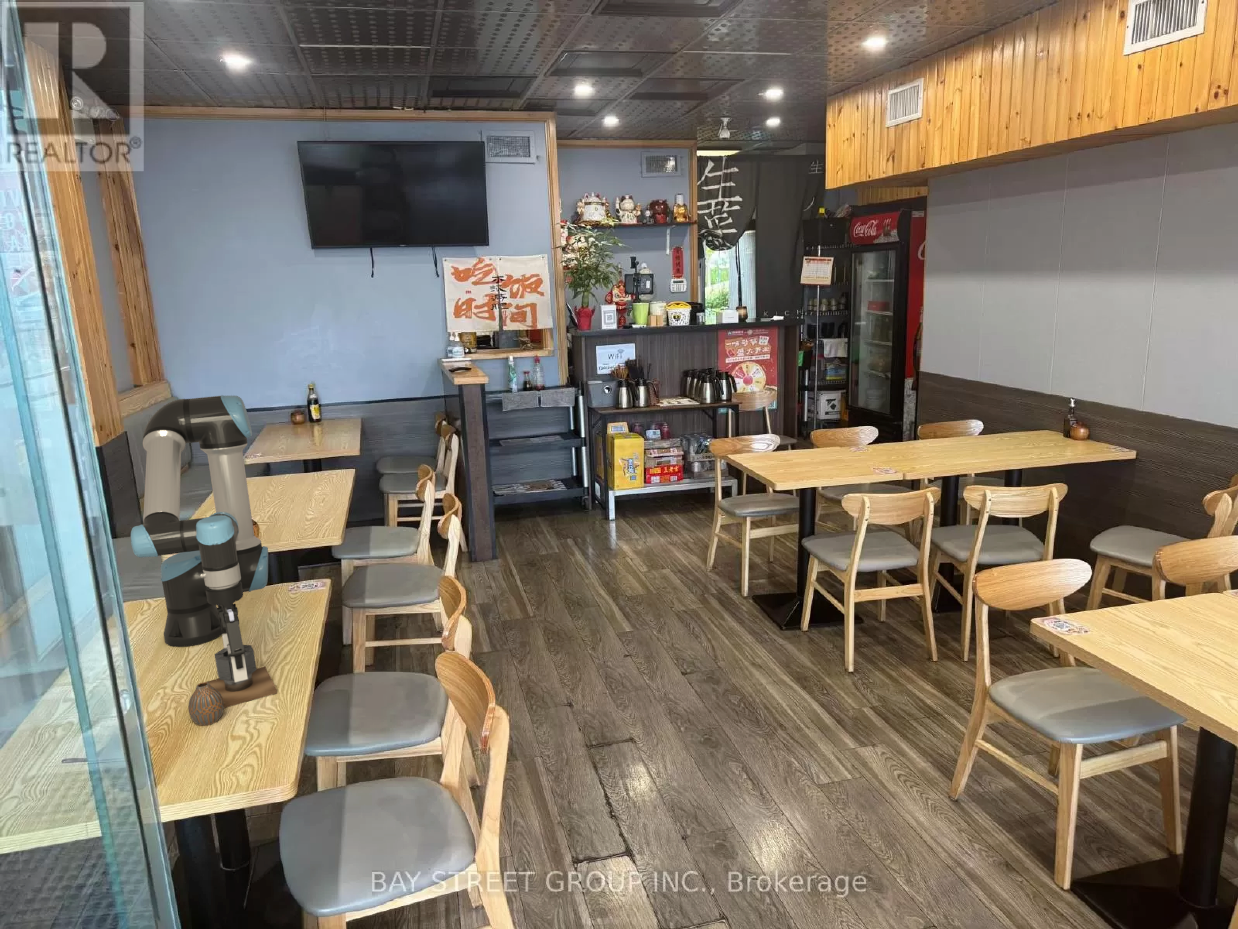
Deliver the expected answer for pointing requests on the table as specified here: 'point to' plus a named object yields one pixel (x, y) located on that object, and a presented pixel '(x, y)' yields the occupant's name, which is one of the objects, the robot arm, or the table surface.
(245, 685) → the shaft
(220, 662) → the ring
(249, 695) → the base board
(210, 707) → the vase
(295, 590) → the table surface
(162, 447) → the robot arm
